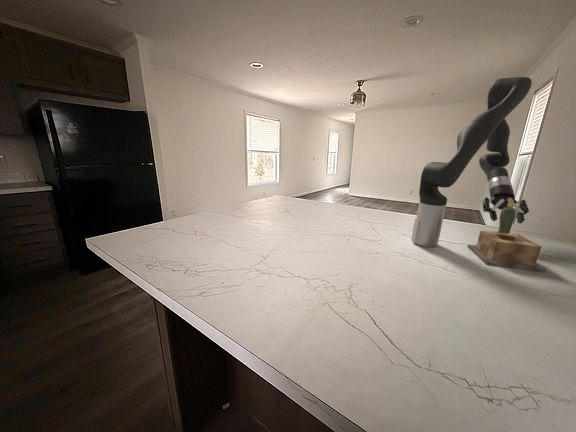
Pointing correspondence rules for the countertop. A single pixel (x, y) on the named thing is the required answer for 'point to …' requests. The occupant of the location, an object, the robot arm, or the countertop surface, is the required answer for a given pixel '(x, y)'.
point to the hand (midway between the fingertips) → (507, 221)
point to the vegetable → (507, 217)
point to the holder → (507, 251)
